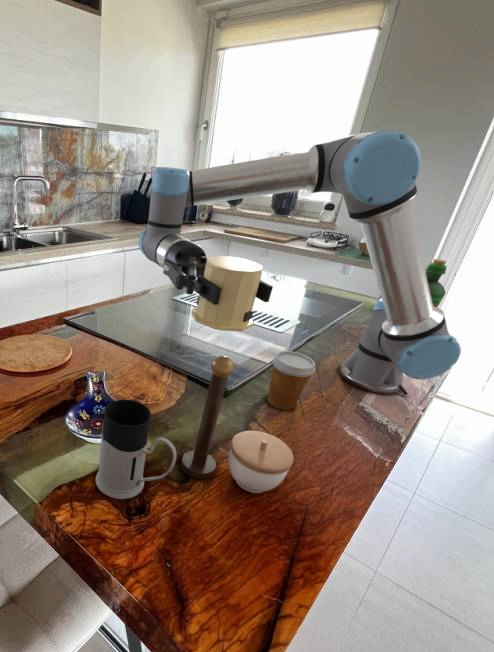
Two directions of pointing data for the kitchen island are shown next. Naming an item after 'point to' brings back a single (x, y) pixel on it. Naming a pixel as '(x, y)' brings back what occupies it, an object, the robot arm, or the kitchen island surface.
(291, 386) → the disposable coffee cup
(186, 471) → the stand
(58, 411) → the kitchen island surface
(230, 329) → the hat
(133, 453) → the glass holder
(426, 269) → the bottle
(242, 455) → the trinket box
